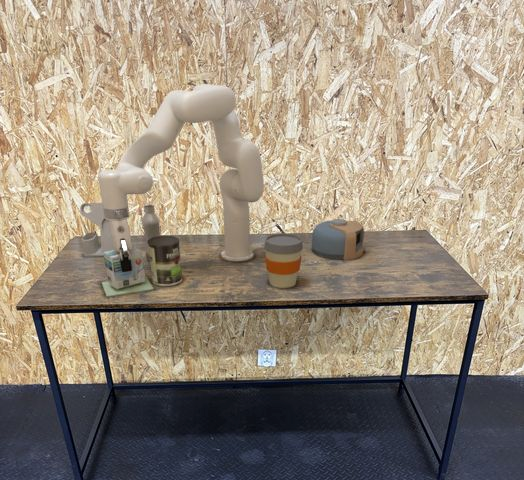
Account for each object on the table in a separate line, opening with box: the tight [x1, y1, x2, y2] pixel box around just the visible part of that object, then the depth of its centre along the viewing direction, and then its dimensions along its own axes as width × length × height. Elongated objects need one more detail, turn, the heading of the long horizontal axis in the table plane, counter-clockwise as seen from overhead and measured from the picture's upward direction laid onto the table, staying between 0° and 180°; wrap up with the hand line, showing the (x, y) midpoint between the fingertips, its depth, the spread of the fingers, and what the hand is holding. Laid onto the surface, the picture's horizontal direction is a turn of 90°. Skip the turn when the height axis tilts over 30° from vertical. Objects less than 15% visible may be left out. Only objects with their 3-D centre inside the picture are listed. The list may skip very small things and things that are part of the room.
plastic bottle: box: [141, 204, 161, 262], centre depth 181 cm, size 6×7×20 cm
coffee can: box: [147, 235, 183, 287], centre depth 165 cm, size 10×10×14 cm
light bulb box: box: [103, 244, 146, 289], centre depth 161 cm, size 11×7×11 cm, turn 129°
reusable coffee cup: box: [263, 233, 304, 289], centre depth 164 cm, size 13×13×15 cm
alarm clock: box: [311, 218, 365, 261], centre depth 191 cm, size 19×20×12 cm
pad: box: [101, 275, 155, 298], centre depth 164 cm, size 15×12×1 cm
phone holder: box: [79, 202, 116, 258], centre depth 189 cm, size 17×10×18 cm, turn 91°
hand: (124, 266), depth 161 cm, fingers closed on light bulb box, 8 cm apart
